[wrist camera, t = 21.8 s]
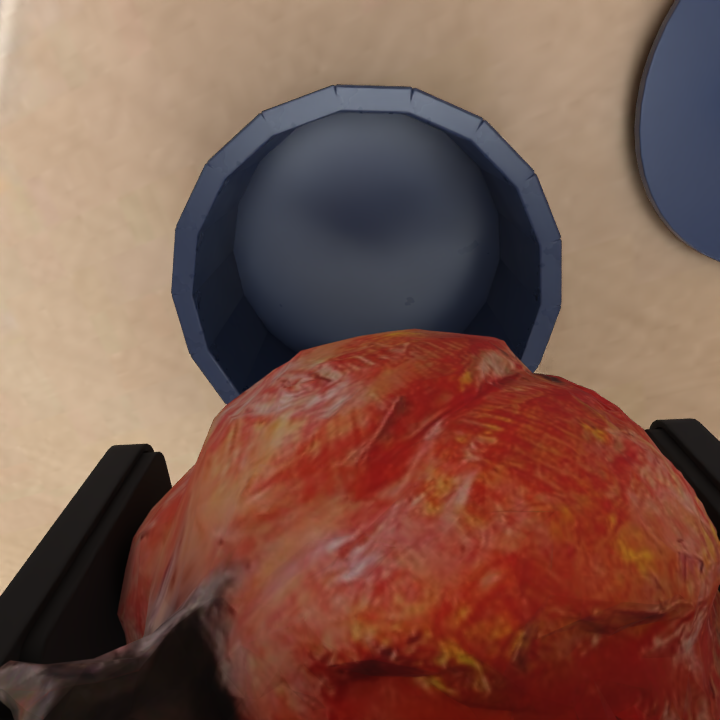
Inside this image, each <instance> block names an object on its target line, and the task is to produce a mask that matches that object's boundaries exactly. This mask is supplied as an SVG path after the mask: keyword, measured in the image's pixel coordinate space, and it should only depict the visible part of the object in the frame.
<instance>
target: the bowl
mask: <svg viewBox="0 0 720 720" xmlns="http://www.w3.org/2000/svg"><path fill="white" fill-rule="evenodd" d="M560 238H561V235H560V233H559V230H558V228H557V225H556V223H555V220H554V218H553V215H552V213H551V210H550V207H549V205H548V202H547V200H546V197H545V195H544V192H543V190H542V187H541V185H540V182H539V179H538V177H537V175H536V174H535V173H534V170H533V169H532V168H531V167H530V166H529V165H528V164H527V163H526V162H525V161H524V160H523V159H522V157H521V156H520V155H519V154H518V153H517V152H516V151H515V150H514V149H513V148H512V147H511V146H510V145H509V144H508V143H507V142H506V141H505V140H504V139H503V138H502V137H501V135H500V134H499V133H498V132H497V131H496V130H495V129H494V128H493V127H492V126H491V125H490V124H489V123H488V122H487V121H486V120H483V118H482V117H480V116H478V115H475V114H473V113H471V112H469V111H466V110H464V109H462V108H460V107H457V106H455V105H453V104H451V103H449V102H446V101H444V100H442V99H440V98H437V97H435V96H433V95H431V94H428V93H426V92H424V91H422V90H419V89H417V88H412V87H405V86H371V85H338V84H337V85H331V86H328V87H326V88H323V89H320V90H318V91H315V92H312V93H310V94H307V95H304V96H302V97H299V98H296V99H294V100H291V101H288V102H286V103H283V104H280V105H278V106H275V107H272V108H270V109H267V110H264V111H262V113H259V114H258V115H257V116H256V117H255V118H254V119H253V120H252V121H251V122H249V123H248V124H247V125H246V126H245V127H244V128H243V129H242V130H241V131H240V132H239V133H238V134H236V135H235V136H234V137H233V138H232V139H231V140H230V141H229V142H228V143H227V144H226V145H225V146H223V147H222V148H221V149H220V150H219V151H218V152H217V153H216V154H215V155H214V156H213V157H212V158H210V159H209V160H208V162H207V163H206V164H205V166H204V168H203V170H202V172H201V174H200V176H199V178H198V181H197V183H196V185H195V187H194V189H193V191H192V193H191V195H190V197H189V200H188V202H187V204H186V206H185V208H184V210H183V212H182V214H181V217H180V219H179V221H178V223H177V225H176V228H175V243H174V258H173V273H172V289H171V293H172V297H173V301H174V304H175V307H176V311H177V314H178V317H179V321H180V324H181V327H182V331H183V334H184V337H185V341H186V344H187V347H188V350H189V354H190V355H191V357H192V359H193V360H194V361H195V363H196V364H197V365H198V367H199V368H200V370H201V371H202V372H203V374H204V375H205V376H206V378H207V379H208V381H209V382H210V383H211V385H212V386H213V387H214V389H215V390H216V392H217V393H218V394H219V396H220V397H221V398H222V400H223V401H224V402H225V404H228V403H230V402H231V401H232V400H234V399H235V398H237V397H238V396H239V395H241V394H242V393H243V392H245V391H246V390H247V389H249V388H250V387H251V386H253V385H254V384H256V383H257V382H258V381H260V380H261V379H262V378H264V377H265V376H266V375H267V374H269V373H270V372H272V371H273V370H274V369H276V368H278V367H280V366H281V365H283V364H285V363H287V362H288V361H290V360H291V359H292V358H293V357H294V356H295V355H297V354H298V353H299V352H300V351H302V350H306V349H309V348H313V347H317V346H320V345H325V344H329V343H333V342H337V341H341V340H345V339H349V338H354V337H358V336H363V335H370V334H376V333H383V332H390V331H398V330H407V329H421V330H429V331H439V332H450V333H459V334H468V335H477V336H486V337H494V338H497V339H500V340H503V341H505V343H506V344H507V346H508V347H509V348H510V350H511V351H512V352H513V353H514V354H515V355H516V357H517V358H518V359H519V360H520V361H521V362H522V363H523V364H524V365H525V366H526V367H527V368H528V369H529V370H530V371H531V372H532V373H533V372H534V371H535V370H536V369H537V368H538V365H539V364H540V362H541V359H542V357H543V354H544V351H545V349H546V346H547V343H548V341H549V338H550V335H551V333H552V330H553V327H554V325H555V322H556V319H557V317H558V314H559V311H560V309H561V287H562V241H561V239H560Z"/></svg>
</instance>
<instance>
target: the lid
mask: <svg viewBox="0 0 720 720" xmlns="http://www.w3.org/2000/svg"><path fill="white" fill-rule="evenodd" d="M634 133H635V152H636V158H637V163H638V168H639V173H640V177H641V180H642V183H643V186H644V188H645V191H646V194H647V196H648V198H649V200H650V202H651V204H652V206H653V208H654V209H655V211H656V213H657V214H658V216H659V217H660V218H661V220H662V221H663V222H664V223H665V225H666V226H667V227H668V229H670V230H671V231H672V232H673V233H674V234H675V235H676V236H677V237H678V238H679V239H680V240H681V241H682V242H684V243H685V244H687V245H688V246H690V247H691V248H693V249H694V250H696V251H697V252H699V253H701V254H704V255H706V256H708V257H710V258H712V259H714V260H717V261H719V262H720V0H675V1H674V3H673V4H672V6H671V8H670V10H669V12H668V13H667V15H666V17H665V19H664V21H663V22H662V24H661V26H660V29H659V31H658V33H657V35H656V38H655V40H654V42H653V45H652V47H651V49H650V52H649V55H648V58H647V61H646V64H645V68H644V71H643V74H642V77H641V82H640V87H639V92H638V97H637V102H636V113H635V127H634Z"/></svg>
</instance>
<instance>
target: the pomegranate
mask: <svg viewBox="0 0 720 720" xmlns="http://www.w3.org/2000/svg"><path fill="white" fill-rule="evenodd" d="M719 585H720V541H719V539H718V536H717V530H716V528H715V527H714V525H713V523H712V522H711V520H710V518H709V517H708V515H707V513H706V511H705V508H704V506H703V504H702V502H701V501H700V500H699V499H698V498H697V496H696V493H695V491H694V489H693V488H692V487H691V485H690V484H689V483H688V482H687V481H686V479H685V478H684V477H683V475H682V473H681V472H680V471H678V470H677V469H676V468H675V467H674V465H673V464H672V462H671V461H669V460H668V459H667V458H666V457H665V456H664V455H663V454H662V453H661V452H660V450H659V449H658V448H657V446H656V445H655V444H654V442H653V441H652V440H651V438H650V437H649V436H648V434H647V433H646V432H645V431H644V429H643V428H641V427H640V426H639V425H637V424H636V423H635V422H634V421H632V420H631V419H630V418H629V417H628V416H627V415H626V414H625V413H624V412H623V411H622V410H621V409H620V408H619V407H618V406H616V405H615V404H613V403H611V402H610V401H608V400H606V399H605V398H603V397H601V396H600V395H599V394H597V393H596V392H595V391H593V390H591V389H588V388H585V387H582V386H579V385H577V384H575V383H572V382H570V381H568V380H566V379H564V378H562V377H559V376H553V375H545V374H536V373H532V372H531V371H530V370H529V369H528V368H527V367H526V366H525V365H524V364H523V363H522V362H521V361H520V360H519V359H518V358H517V357H516V355H515V354H514V353H513V352H512V351H511V350H510V348H509V347H508V346H507V344H506V343H505V341H503V340H500V339H497V338H494V337H486V336H477V335H468V334H459V333H450V332H439V331H429V330H421V329H407V330H398V331H390V332H383V333H376V334H370V335H363V336H358V337H354V338H349V339H345V340H341V341H337V342H333V343H329V344H325V345H320V346H317V347H313V348H309V349H306V350H302V351H300V352H299V353H298V354H297V355H295V356H294V357H293V358H292V359H291V360H290V361H288V362H287V363H285V364H283V365H281V366H280V367H278V368H276V369H274V370H273V371H272V372H270V373H269V374H267V375H266V376H265V377H264V378H262V379H261V380H260V381H258V382H257V383H256V384H254V385H253V386H251V387H250V388H249V389H247V390H246V391H245V392H243V393H242V394H241V395H239V396H238V397H237V398H235V399H234V400H232V401H231V402H230V403H228V404H227V405H226V406H225V407H224V408H223V409H222V411H221V412H220V413H219V414H218V415H217V416H216V417H215V418H214V420H213V422H212V425H211V427H210V430H209V432H208V435H207V437H206V440H205V442H204V445H203V447H202V450H201V452H200V455H199V457H198V460H197V462H196V464H195V465H194V466H193V467H192V468H191V469H190V470H189V471H188V472H187V473H186V474H185V475H184V476H183V477H182V478H181V479H180V480H179V481H178V482H177V483H176V484H175V485H174V486H173V487H172V488H171V489H170V490H169V491H168V492H167V493H166V494H165V495H164V496H163V498H162V499H161V500H160V501H159V502H158V503H157V504H156V505H155V506H154V507H153V508H152V509H151V511H150V512H149V514H148V515H147V517H146V518H145V520H144V521H143V523H142V524H141V526H140V527H139V529H138V531H137V532H136V534H135V535H134V537H133V540H132V544H131V548H130V552H129V556H128V560H127V564H126V568H125V574H124V579H123V585H122V590H121V596H120V601H119V606H118V612H117V615H118V618H119V620H120V623H121V625H122V628H123V630H124V633H125V638H126V644H127V645H125V646H122V647H120V648H118V649H115V650H113V651H111V652H108V653H106V654H103V655H101V656H99V657H96V658H94V659H88V660H80V661H71V662H62V663H54V664H37V663H28V662H20V661H11V660H10V661H9V662H7V663H6V664H4V665H3V666H1V667H0V701H1V702H2V703H3V704H5V705H6V706H7V707H8V708H9V709H11V712H12V715H13V718H14V720H720V592H719V591H718V587H719Z"/></svg>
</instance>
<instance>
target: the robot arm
mask: <svg viewBox="0 0 720 720" xmlns="http://www.w3.org/2000/svg"><path fill="white" fill-rule="evenodd" d="M644 431H645V432H646V433H647V434H648V436H649V437H650V438H651V440H652V441H653V442H654V444H655V445H656V446H657V448H658V449H659V450H660V452H661V453H662V454H663V455H664V456H665V457H666V458H667V459H668V460H669V461H671V462H672V464H673V465H674V467H675V468H676V469H677V470H678V471H680V472H681V473H682V475H683V477H684V478H685V479H686V481H687V482H688V483H689V484H690V485H691V487H692V488H693V489H694V491H695V493H696V496H697V498H698V499H699V500H700V501H701V502H702V504H703V506H704V508H705V511H706V513H707V515H708V517H709V518H710V520H711V522H712V523H713V525H714V527H715V528H716V530H717V536H718V539H719V541H720V441H719V440H718V439H717V438H715V437H714V436H713V435H712V434H711V433H710V432H709V431H708V430H707V429H706V428H705V427H704V426H703V425H702V424H701V423H700V422H699V421H697V420H696V419H668V420H656V421H654V422H653V423H652V424H651V426H650V429H646V430H644ZM171 488H172V485H171V481H170V477H169V473H168V469H167V465H166V461H165V458H164V456H163V454H162V453H161V452H154V450H153V448H152V447H151V446H150V445H149V444H132V445H115V446H112V447H111V448H110V449H108V451H107V452H106V453H105V455H104V456H103V458H102V459H101V460H100V462H99V463H98V464H97V466H96V467H95V468H94V470H93V471H92V473H91V474H90V475H89V477H88V478H87V479H86V481H85V482H84V483H83V485H82V486H81V487H80V489H79V490H78V492H77V493H76V494H75V496H74V497H73V498H72V500H71V501H70V502H69V504H68V505H67V506H66V508H65V509H64V511H63V512H62V513H61V515H60V516H59V517H58V519H57V520H56V521H55V523H54V524H53V525H52V527H51V528H50V530H49V531H48V532H47V534H46V535H45V536H44V538H43V539H42V540H41V542H40V543H39V545H38V546H37V547H36V549H35V550H34V551H33V553H32V554H31V555H30V557H29V558H28V559H27V561H26V562H25V564H24V565H23V566H22V568H21V569H20V570H19V572H18V573H17V574H16V576H15V577H14V578H13V580H12V581H11V583H10V584H9V585H8V587H7V588H6V589H5V591H4V592H3V593H2V595H1V596H0V667H1V666H3V665H4V664H6V663H7V662H9V661H10V660H11V661H20V662H28V663H37V664H54V663H62V662H71V661H80V660H88V659H94V658H96V657H99V656H101V655H103V654H106V653H108V652H111V651H113V650H115V649H118V648H120V647H122V646H125V645H127V644H126V638H125V633H124V630H123V628H122V625H121V623H120V620H119V618H118V615H117V612H118V606H119V601H120V596H121V590H122V585H123V579H124V574H125V568H126V564H127V560H128V556H129V552H130V548H131V544H132V540H133V537H134V535H135V534H136V532H137V531H138V529H139V527H140V526H141V524H142V523H143V521H144V520H145V518H146V517H147V515H148V514H149V512H150V511H151V509H152V508H153V507H154V506H155V505H156V504H157V503H158V502H159V501H160V500H161V499H162V498H163V496H164V495H165V494H166V493H167V492H168V491H169V490H170V489H171ZM718 591H719V592H720V585H719V587H718ZM0 720H14V718H13V715H12V712H11V709H9V708H8V707H7V706H6V705H5V704H3V703H2V702H1V701H0Z"/></svg>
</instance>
